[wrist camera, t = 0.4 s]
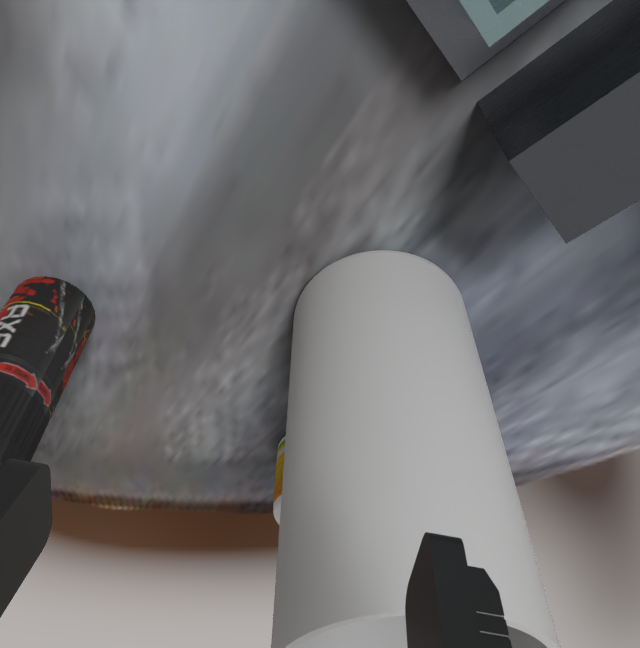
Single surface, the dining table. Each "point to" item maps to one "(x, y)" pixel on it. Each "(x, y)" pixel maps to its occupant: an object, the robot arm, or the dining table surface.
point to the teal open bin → (556, 101)
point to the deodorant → (37, 358)
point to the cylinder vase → (391, 459)
